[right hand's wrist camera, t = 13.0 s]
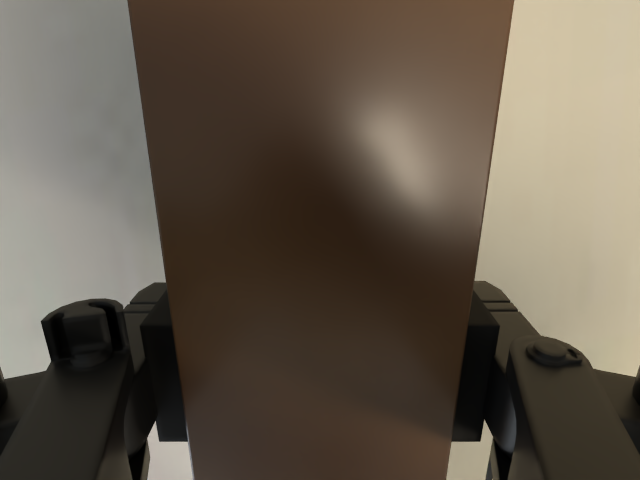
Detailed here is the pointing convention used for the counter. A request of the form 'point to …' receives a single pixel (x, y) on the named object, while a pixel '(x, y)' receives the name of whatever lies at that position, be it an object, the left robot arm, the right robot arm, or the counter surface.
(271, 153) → the post
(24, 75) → the counter surface
